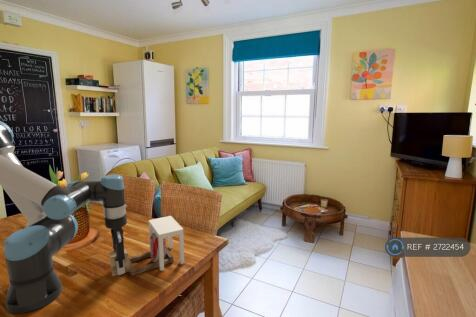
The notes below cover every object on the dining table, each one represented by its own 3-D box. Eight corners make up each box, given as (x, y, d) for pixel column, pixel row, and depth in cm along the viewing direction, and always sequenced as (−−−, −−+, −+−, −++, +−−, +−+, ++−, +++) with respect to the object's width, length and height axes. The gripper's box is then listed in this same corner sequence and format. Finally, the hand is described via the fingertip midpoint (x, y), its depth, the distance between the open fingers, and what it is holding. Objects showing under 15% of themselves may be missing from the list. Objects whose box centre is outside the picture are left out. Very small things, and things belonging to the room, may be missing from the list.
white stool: (160, 270, 104) (158, 234, 102) (150, 252, 118) (148, 220, 115) (184, 263, 110) (183, 229, 107) (171, 246, 123) (170, 215, 120)
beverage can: (161, 265, 108) (160, 238, 106) (148, 263, 110) (146, 236, 107) (168, 256, 114) (167, 231, 112) (155, 255, 116) (154, 229, 113)
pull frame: (113, 281, 98) (112, 262, 96) (109, 266, 107) (107, 248, 105) (173, 261, 110) (172, 244, 108) (165, 250, 119) (164, 233, 117)
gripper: (130, 221, 94) (134, 279, 99) (122, 206, 108) (126, 257, 113) (107, 226, 90) (113, 286, 95) (101, 210, 104) (107, 263, 109)
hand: (120, 270), depth 104 cm, fingers closed on pull frame, 4 cm apart
